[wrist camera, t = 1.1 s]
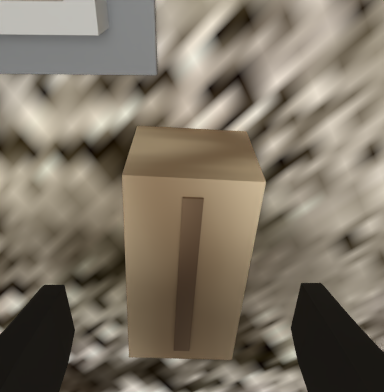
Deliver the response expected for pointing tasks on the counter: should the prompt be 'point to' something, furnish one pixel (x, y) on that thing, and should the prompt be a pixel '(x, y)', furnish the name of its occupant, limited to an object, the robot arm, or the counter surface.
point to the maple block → (188, 239)
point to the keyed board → (78, 37)
